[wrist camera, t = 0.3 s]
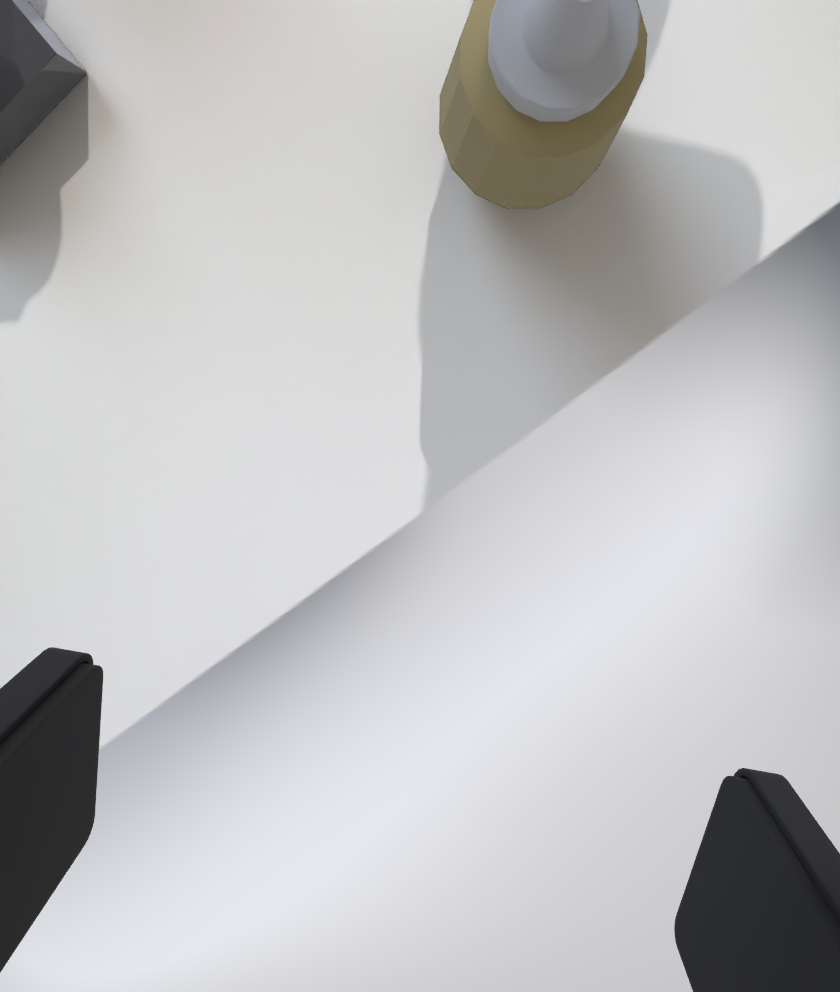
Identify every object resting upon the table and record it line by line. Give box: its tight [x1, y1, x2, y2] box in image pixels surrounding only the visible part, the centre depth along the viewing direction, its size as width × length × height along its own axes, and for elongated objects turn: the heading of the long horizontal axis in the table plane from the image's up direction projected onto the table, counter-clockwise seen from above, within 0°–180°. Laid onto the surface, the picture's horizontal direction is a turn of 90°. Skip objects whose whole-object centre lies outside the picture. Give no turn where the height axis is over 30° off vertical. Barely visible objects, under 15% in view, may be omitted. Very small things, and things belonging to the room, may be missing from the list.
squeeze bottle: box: [439, 0, 647, 208], centre depth 27 cm, size 8×8×18 cm
